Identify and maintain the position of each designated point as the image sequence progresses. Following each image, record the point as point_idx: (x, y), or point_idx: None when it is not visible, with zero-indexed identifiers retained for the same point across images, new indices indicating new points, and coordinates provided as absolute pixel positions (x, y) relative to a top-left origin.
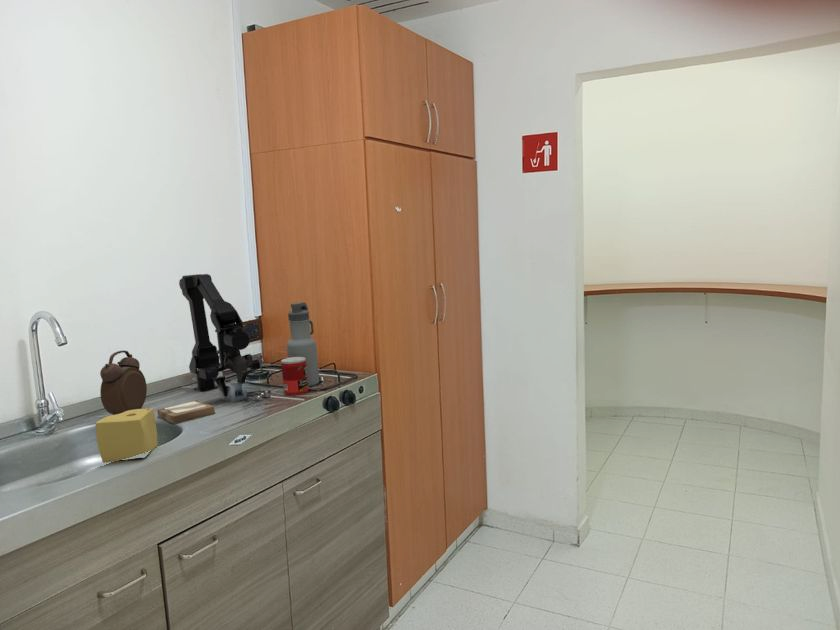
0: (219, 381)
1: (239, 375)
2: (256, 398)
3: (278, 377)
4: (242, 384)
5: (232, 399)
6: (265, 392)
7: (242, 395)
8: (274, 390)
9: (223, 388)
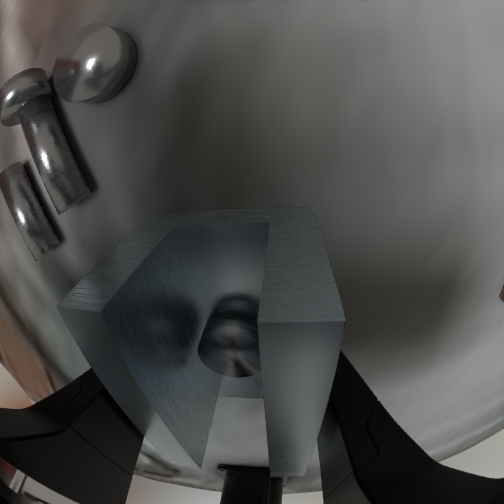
0: (442, 470)
1: (98, 469)
2: (115, 31)
3: (35, 387)
4: (93, 304)
5: (309, 216)
6: (19, 82)
7: (176, 235)
8: (6, 250)
9: (362, 391)
